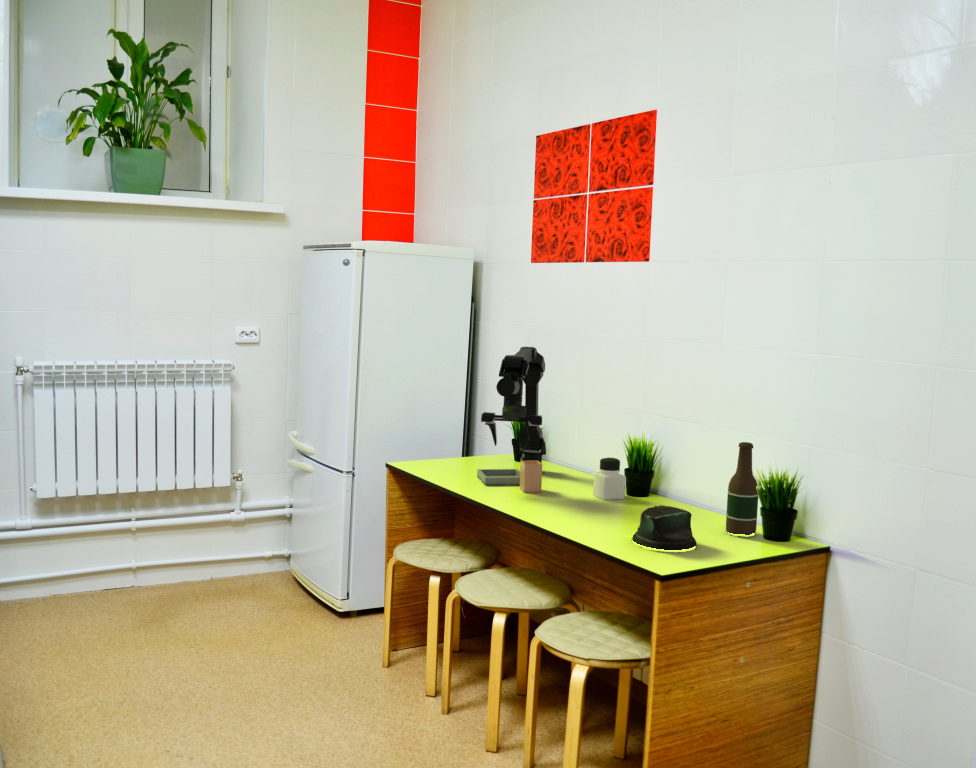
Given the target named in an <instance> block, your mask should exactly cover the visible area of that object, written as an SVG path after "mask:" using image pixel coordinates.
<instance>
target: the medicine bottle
mask: <svg viewBox="0 0 976 768" xmlns="http://www.w3.org/2000/svg"><path fill="white" fill-rule="evenodd" d="M620 468H621V460H620V459H618V458H616V457H602V458H600V460H599V471H597V472H593V484H592V496H595V497H596V498H598V499H600V500H603V501H613V500H624V499H625V489H626V475H624V474H620V472H621V471H620V470H621V469H620Z"/></svg>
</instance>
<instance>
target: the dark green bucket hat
mask: <svg viewBox="0 0 976 768" xmlns="http://www.w3.org/2000/svg"><path fill="white" fill-rule="evenodd" d="M691 523H692V513H691V512H690V511H688V510H686V509H682V508H678V507H675V506H671V505H670V506H669V505H663V504H659V505H654V506H651V507H647V508H644V509H643V511H642V512H641V513H640V519H639V525H638V526H637V530H636V532H635V534H634V535H633V537H632V539H631V541H632V540H633V541H634V542H636V543H637V544H640V545H643V546H646V547H651V548H656V549H664V550H682V549H689V548H692V547H694V546H697V540H696V538H695V537H694V536H693V531H692V526H691Z"/></svg>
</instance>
